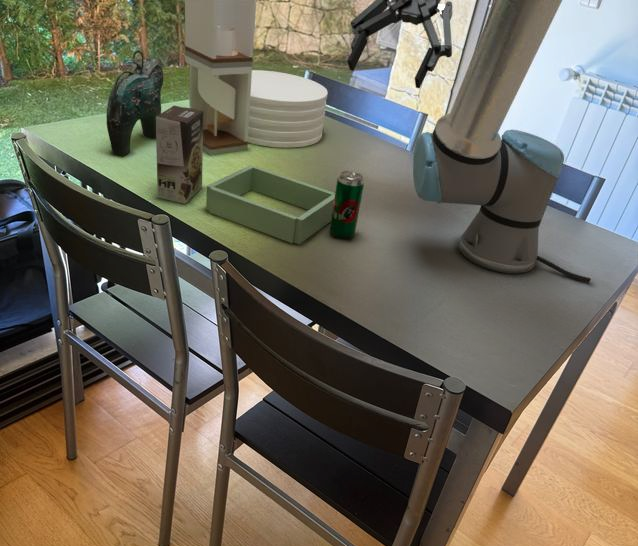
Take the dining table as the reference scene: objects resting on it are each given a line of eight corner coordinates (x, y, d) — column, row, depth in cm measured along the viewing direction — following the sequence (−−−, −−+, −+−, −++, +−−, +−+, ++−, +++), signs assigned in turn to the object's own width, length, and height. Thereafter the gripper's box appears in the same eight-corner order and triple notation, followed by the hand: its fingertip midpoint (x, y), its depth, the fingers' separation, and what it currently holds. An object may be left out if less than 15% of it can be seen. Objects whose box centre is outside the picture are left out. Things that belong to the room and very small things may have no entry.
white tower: (185, 138, 149) (185, -26, 127) (221, 134, 155) (227, -24, 134) (210, 155, 142) (214, -16, 121) (247, 149, 148) (257, -14, 127)
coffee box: (187, 204, 120) (187, 122, 110) (156, 198, 120) (153, 115, 110) (203, 188, 127) (205, 110, 117) (174, 182, 127) (173, 103, 118)
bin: (336, 217, 124) (340, 194, 121) (297, 245, 112) (300, 221, 109) (249, 186, 131) (251, 164, 128) (204, 210, 119) (204, 186, 116)
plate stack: (320, 153, 153) (327, 107, 146) (210, 138, 151) (211, 90, 144) (322, 120, 175) (328, 79, 168) (226, 107, 173) (228, 64, 166)
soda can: (359, 235, 119) (370, 177, 112) (342, 242, 116) (353, 183, 108) (340, 225, 121) (350, 168, 114) (323, 231, 118) (332, 173, 111)
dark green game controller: (147, 129, 150) (144, 42, 138) (171, 135, 149) (170, 48, 137) (103, 153, 134) (95, 57, 122) (129, 160, 133) (124, 63, 121)
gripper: (492, 6, 113) (447, 103, 111) (372, -19, 120) (328, 71, 118) (494, -26, 106) (445, 77, 104) (366, -51, 113) (319, 45, 111)
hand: (382, 74), depth 111 cm, fingers open, 13 cm apart
